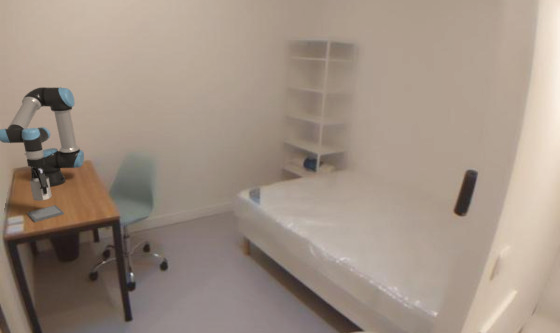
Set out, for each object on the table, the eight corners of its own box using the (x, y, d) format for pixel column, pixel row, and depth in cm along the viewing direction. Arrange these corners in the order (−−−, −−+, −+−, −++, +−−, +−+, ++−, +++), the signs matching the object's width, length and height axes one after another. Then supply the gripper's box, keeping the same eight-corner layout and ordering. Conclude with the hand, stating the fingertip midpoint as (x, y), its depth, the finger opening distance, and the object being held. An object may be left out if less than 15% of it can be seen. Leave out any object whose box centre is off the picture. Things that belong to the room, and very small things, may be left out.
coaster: (27, 214, 192) (27, 212, 191) (55, 206, 202) (55, 204, 202) (34, 222, 184) (34, 220, 183) (63, 214, 194) (63, 212, 194)
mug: (31, 197, 191) (27, 178, 188) (49, 193, 197) (46, 175, 194) (37, 204, 183) (33, 184, 180) (55, 200, 189) (52, 181, 186)
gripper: (20, 154, 187) (27, 191, 194) (34, 164, 172) (41, 204, 179) (36, 151, 193) (43, 187, 199) (51, 161, 178) (57, 200, 184)
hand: (42, 195), depth 189 cm, fingers closed on mug, 12 cm apart
